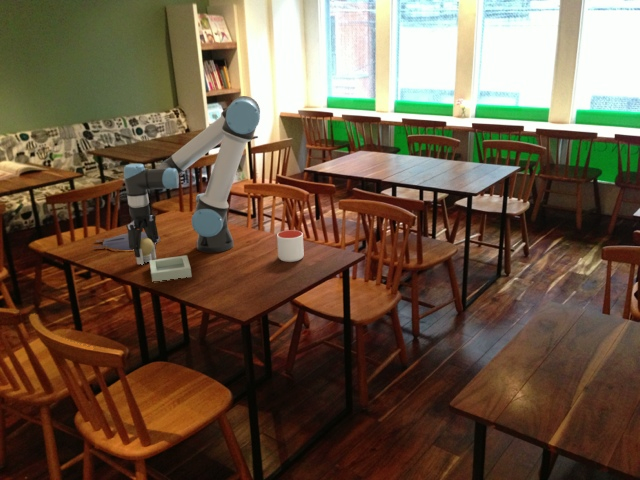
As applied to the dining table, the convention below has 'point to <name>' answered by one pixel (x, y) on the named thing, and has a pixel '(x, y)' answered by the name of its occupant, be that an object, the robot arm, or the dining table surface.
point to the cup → (290, 245)
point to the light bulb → (146, 249)
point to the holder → (170, 268)
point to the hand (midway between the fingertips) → (146, 261)
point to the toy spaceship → (120, 242)
